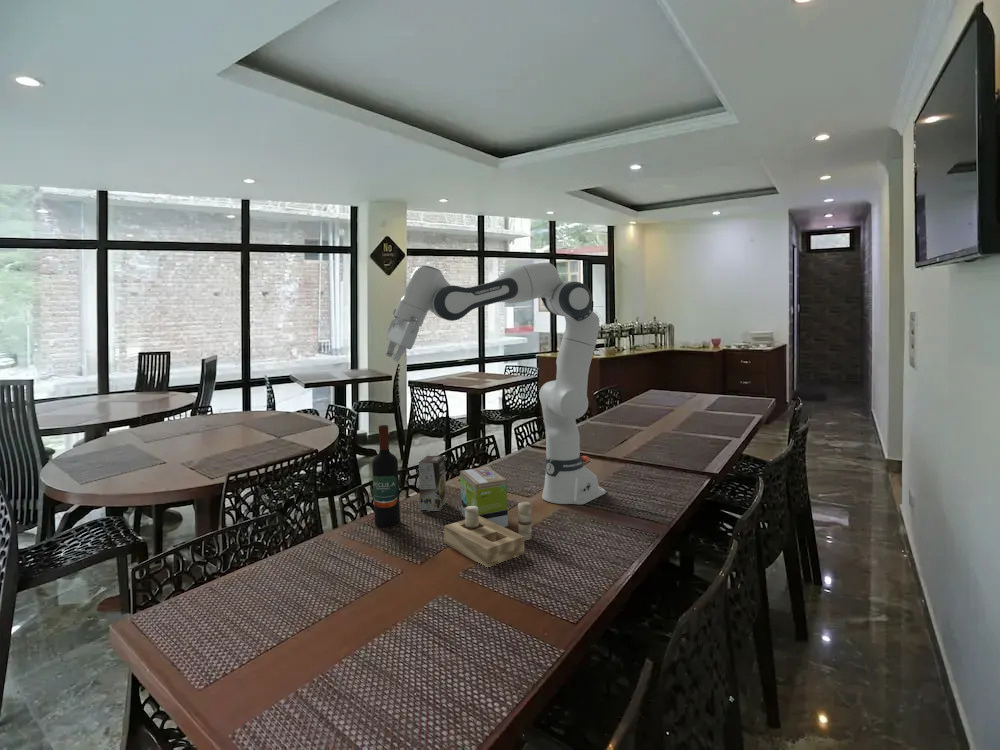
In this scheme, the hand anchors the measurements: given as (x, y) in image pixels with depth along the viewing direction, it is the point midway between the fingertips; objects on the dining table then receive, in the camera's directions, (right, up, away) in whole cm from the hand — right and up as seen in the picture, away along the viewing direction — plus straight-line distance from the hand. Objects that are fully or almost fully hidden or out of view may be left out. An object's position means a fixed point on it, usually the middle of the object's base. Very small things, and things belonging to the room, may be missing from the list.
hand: (391, 358), depth 175 cm
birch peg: (+40, -51, -13) cm, 65 cm away
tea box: (+28, -49, +1) cm, 57 cm away
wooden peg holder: (+28, -52, -19) cm, 62 cm away
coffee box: (+11, -48, +14) cm, 51 cm away
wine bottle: (-1, -50, +1) cm, 50 cm away
